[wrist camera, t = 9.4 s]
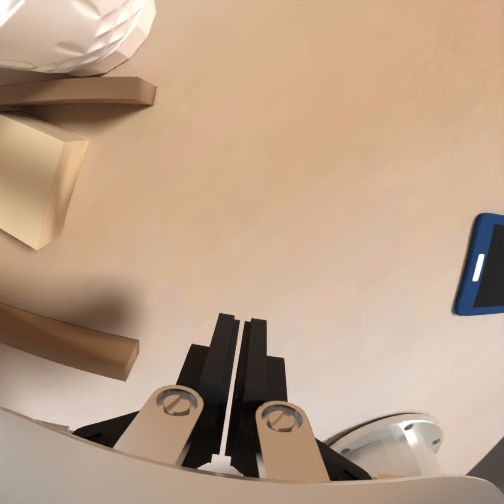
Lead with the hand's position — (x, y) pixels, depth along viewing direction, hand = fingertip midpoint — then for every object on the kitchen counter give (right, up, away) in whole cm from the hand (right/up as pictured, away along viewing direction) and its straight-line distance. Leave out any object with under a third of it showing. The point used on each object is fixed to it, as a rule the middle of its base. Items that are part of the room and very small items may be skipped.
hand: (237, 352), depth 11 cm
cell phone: (+21, +3, +7) cm, 23 cm away
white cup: (-8, +16, +2) cm, 18 cm away
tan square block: (-12, +8, +5) cm, 16 cm away
